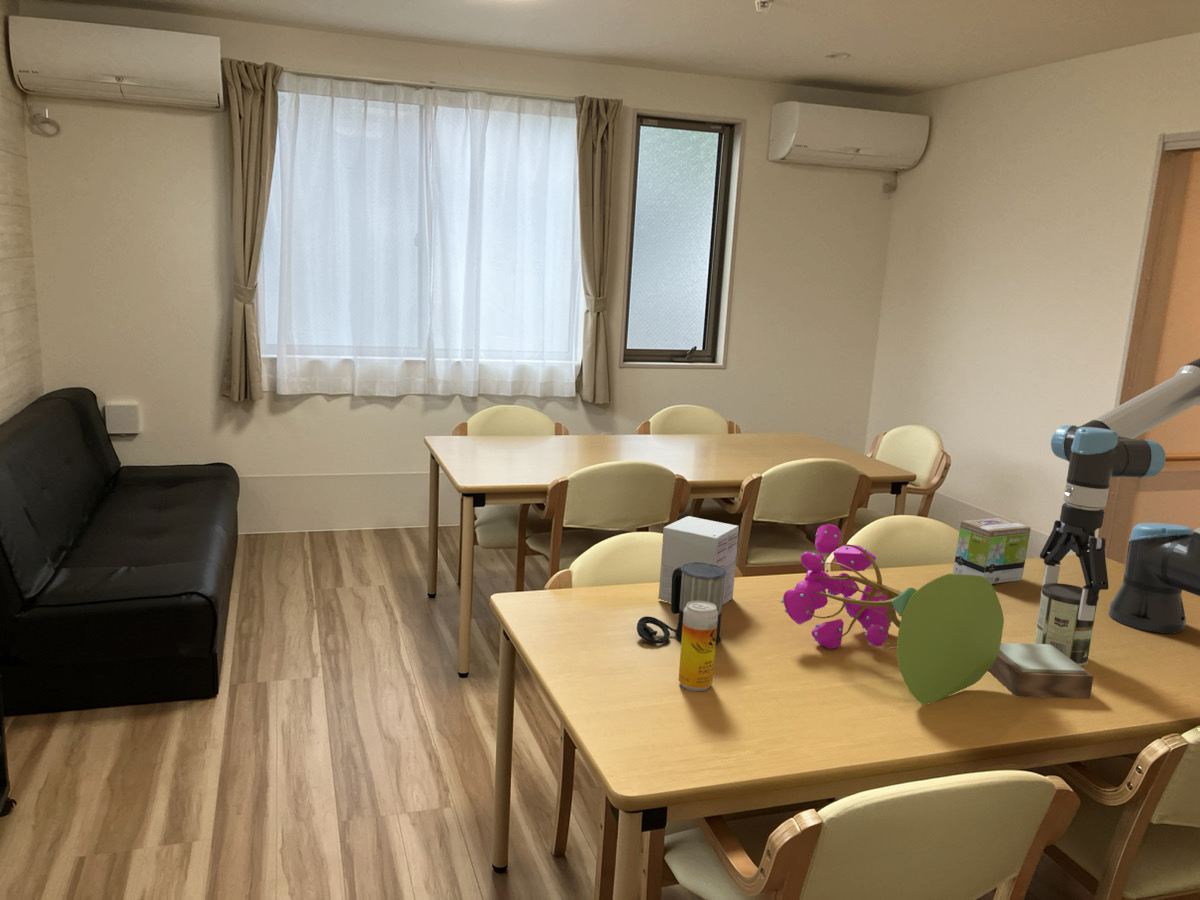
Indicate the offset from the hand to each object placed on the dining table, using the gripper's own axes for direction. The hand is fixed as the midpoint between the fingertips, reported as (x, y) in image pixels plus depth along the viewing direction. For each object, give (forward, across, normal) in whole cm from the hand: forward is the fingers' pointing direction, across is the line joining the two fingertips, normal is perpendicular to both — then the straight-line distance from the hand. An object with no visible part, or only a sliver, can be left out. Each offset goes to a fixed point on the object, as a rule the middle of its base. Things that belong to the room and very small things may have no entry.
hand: (1065, 607), depth 183 cm
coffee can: (+11, 0, +1) cm, 11 cm away
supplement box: (+12, -26, -70) cm, 76 cm away
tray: (+11, +12, -11) cm, 20 cm away
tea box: (+10, -50, +10) cm, 52 cm away
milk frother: (+12, -3, -78) cm, 79 cm away
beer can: (+12, +18, -77) cm, 80 cm away
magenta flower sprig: (+12, +3, -39) cm, 41 cm away
